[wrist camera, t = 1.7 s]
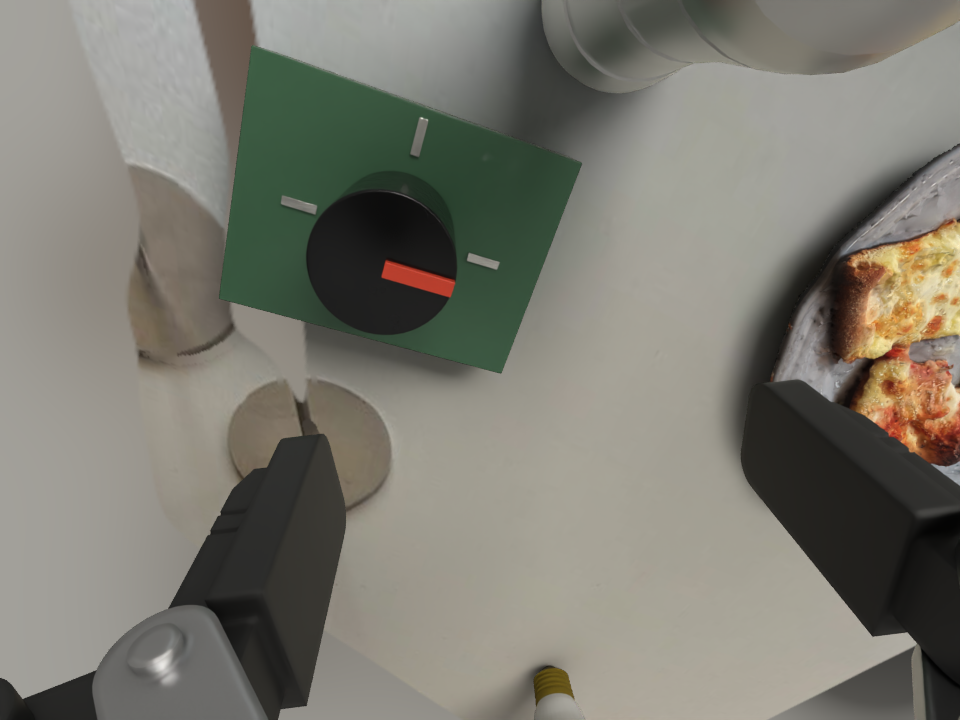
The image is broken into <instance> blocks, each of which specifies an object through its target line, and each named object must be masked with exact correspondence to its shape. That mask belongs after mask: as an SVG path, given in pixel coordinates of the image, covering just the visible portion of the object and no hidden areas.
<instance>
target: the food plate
mask: <svg viewBox="0 0 960 720" xmlns="http://www.w3.org/2000/svg"><path fill="white" fill-rule="evenodd" d="M868 216H869V217H865V219H863V221H862V222H859V223H858V224H857V227H856V228H855V229H852V231H851V232H850V233H847V234H846V235H845V238H842V240H840V241H839V242H838V243H837V245H835V247H834V248H832V251H830V253H829V254H830V255H829V257H828V258H827V260H826V261H825V262H824V265H823V266H822V267H821V271H819V273H818V275H817V277H815V278H814V279H813V280H812V282H811V283H810V284H809V286H807V289H806V290H804V291H803V293H802V294H800V296H798V297H799V300H798V301H797V302H796V307H795V308H794V309H793V311H792V316H791V317H790V318H791V319H790V322H789V326H788V328H789V329H786V331H787V333H786V334H784V337H783V339H782V342H781V346H780V349H779V352H778V353H779V354H778V357H777V358H776V361H775V367H774V368H773V372H772V374H771V379H770V382H778V381H786V380H795V379H799V380H802V381H804V382H806V383H807V384H808V385H810V386H811V387H812V388H814V389H815V390H816V391H818V392H819V393H820V394H821V395H823V396H824V397H825V398H827V399H828V400H829V401H831V402H835V403H837V404H839V405H842V406H844V407H846V408H849V409H851V410H853V411H856V412H858V413H860V414H862V415H865V416H866V417H867V418H869V419H870V420H872V421H873V422H874V423H876V424H877V425H878V426H880V427H881V428H882V429H884V430H885V431H886V432H888V433H889V437H895V438H896V439H897V440H899V441H900V442H901V443H903V444H904V445H905V446H907V447H908V448H909V451H910V452H915V453H916V454H918V455H919V456H920V457H922V458H923V459H924V460H926V461H927V462H928V463H930V464H931V465H933V466H934V467H935V468H937V469H938V470H939V471H941V472H942V473H943V474H945V475H946V476H947V477H949V478H950V479H952V480H953V481H954V482H956V483H957V484H958V485H960V144H957V146H954V147H953V148H952V150H948V151H947V152H944V153H942V154H941V155H938V156H937V157H935V158H933V160H931V162H928V163H927V164H926V165H925V166H924V167H922V168H920V169H919V170H918V171H916V172H914V173H913V174H912V177H910V178H907V181H904V183H902V184H901V185H900V187H899V188H898V190H897V191H893V192H892V193H891V195H890V196H889V198H887V199H886V200H885V201H884V202H883V203H881V204H880V205H879V207H876V208H875V210H874V211H873V212H871V213H870V214H869V215H868Z"/></svg>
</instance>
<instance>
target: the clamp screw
mask: <svg viewBox="0 0 960 720" xmlns="http://www.w3.org/2000/svg"><path fill="white" fill-rule="evenodd" d="M306 266H307V272H308V276H309V279H310V283H311V285H312V287H313V289H314V292H315V293H316V295H317V297H318V298H319V300H320V301H321V302H322V304H323V305H324V306H325V308H326V309H327V310H328V311H329V312H330V313H331V314H332V315H334V316H335V317H336V318H338V319H339V320H340V321H342V322H343V323H345V324H347V325H348V326H350V327H353V328H355V329H357V330H360V331H363V332H366V333H371V334H378V335H395V334H401V333H406V332H409V331H412V330H415V329H417V328H419V327H421V326H423V325H425V324H426V323H428V322H429V321H430V320H432V319H433V318H434V317H435V316H436V315H437V314H438V313H439V312H440V311H441V310H442V309H443V307H444V306H445V305H446V303H447V302H448V300H449V298H450V297H451V295H452V292H453V289H454V286H455V282H456V277H457V253H456V243H455V232H454V225H453V220H452V216H451V213H450V211H449V209H448V206H447V204H446V203H445V201H444V200H443V198H442V197H441V196H440V194H439V193H438V192H437V191H436V190H435V189H434V188H433V187H432V186H431V185H429V184H428V183H427V182H425V181H424V180H422V179H420V178H418V177H416V176H414V175H411V174H408V173H405V172H400V171H381V172H376V173H372V174H369V175H367V176H365V177H363V178H361V179H359V180H358V181H356V182H355V183H354V184H353V185H351V186H350V187H349V188H348V189H347V190H346V191H345V192H344V193H343V194H342V195H340V196H339V197H338V198H337V199H336V200H335V201H334V202H333V203H332V204H331V205H330V206H329V207H327V208H326V209H325V210H324V212H323V213H322V214H321V215H320V216H319V218H318V219H317V221H316V222H315V224H314V226H313V228H312V230H311V233H310V235H309V239H308V243H307V249H306Z"/></svg>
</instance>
